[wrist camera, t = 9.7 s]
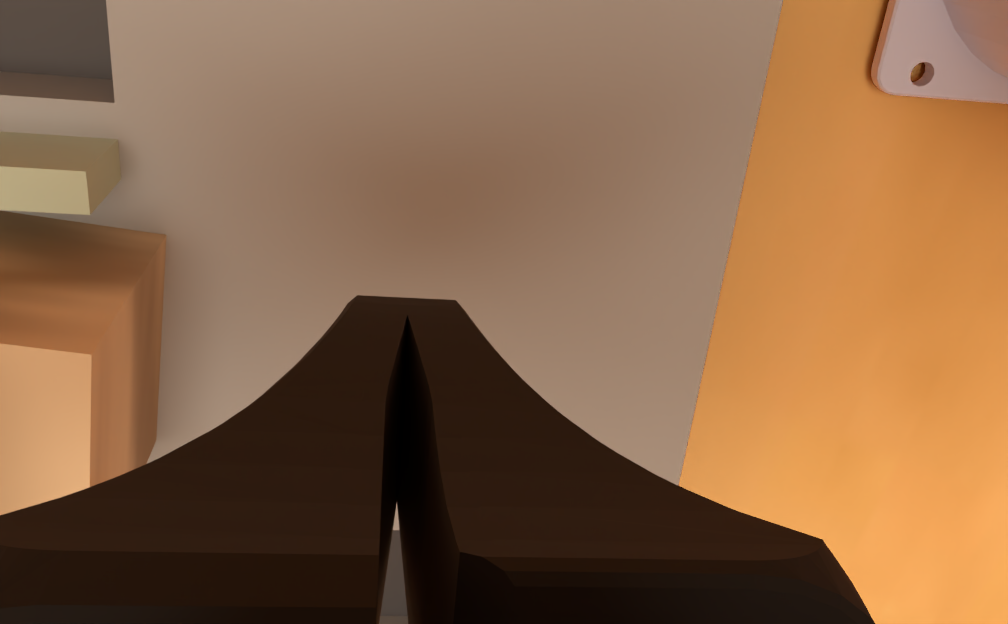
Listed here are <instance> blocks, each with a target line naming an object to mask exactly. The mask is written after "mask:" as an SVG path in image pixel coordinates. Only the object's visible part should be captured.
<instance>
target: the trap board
mask: <svg viewBox="0 0 1008 624" xmlns="http://www.w3.org/2000/svg"><path fill="white" fill-rule="evenodd" d="M782 3H783V0H0V211H7V212H13V213H20V214H27V215H34V216H41V217H48V218H54V219H61V220H68V221H75V222H82V223H89V224H95V225H102V226H109V227H116V228H123V229H130V230H136V231H143V232H150V233H157V234H164V235H166V255H165V276H164V296H163V316H162V336H161V356H160V376H159V396H158V417H157V437H156V442H155V445H154V447H153V449H152V452H151V454H150V456H149V459H148V461H147V463H150V462H152V461H154V460H156V459H158V458H160V457H162V456H164V455H166V454H168V453H170V452H171V451H173V450H175V449H177V448H179V447H181V446H183V445H184V444H186V443H188V442H190V441H192V440H194V439H196V438H197V437H199V436H201V435H203V434H205V433H207V432H209V431H211V430H212V429H214V428H216V427H217V426H219V425H220V424H222V423H224V422H225V421H227V420H228V419H230V418H231V417H233V416H234V415H235V414H237V413H238V412H240V411H241V410H243V409H244V408H246V407H247V406H249V405H250V404H251V403H252V402H254V401H255V400H256V399H258V398H259V397H260V396H261V395H262V394H264V393H265V392H266V391H267V390H268V389H269V388H270V387H271V386H273V385H274V384H275V383H276V382H277V381H278V380H279V379H280V378H281V377H283V376H284V375H285V374H286V373H287V372H288V371H289V370H290V369H291V368H293V367H294V366H295V365H296V364H297V363H298V362H299V361H300V360H301V359H302V357H303V356H304V355H305V354H306V353H307V352H308V351H309V350H310V349H311V348H312V347H313V346H314V345H315V344H316V343H317V341H318V340H319V339H320V338H321V337H322V336H323V335H324V334H325V332H326V331H327V330H328V329H329V328H330V326H331V325H332V324H333V323H334V321H335V320H336V319H337V318H338V316H339V315H340V314H341V312H342V311H343V309H344V308H345V307H346V305H347V303H348V302H350V301H351V300H352V299H353V298H354V297H356V296H357V295H363V296H384V297H405V298H426V299H446V300H456V301H457V302H458V303H459V304H460V305H461V307H462V308H463V309H464V310H465V311H466V313H467V314H468V315H469V317H470V318H471V320H472V321H473V322H474V324H475V325H476V326H477V327H478V329H479V330H480V331H481V333H482V334H483V335H484V336H485V338H486V339H487V340H488V341H489V343H490V344H491V345H492V346H493V347H494V349H495V350H496V351H497V352H498V353H499V354H500V356H501V357H502V358H503V359H504V360H505V361H506V362H507V363H508V364H509V366H510V367H511V368H512V369H513V370H514V371H515V372H516V373H517V374H518V375H519V376H520V377H521V378H522V379H523V380H524V381H525V382H526V383H527V384H528V385H529V386H530V387H531V388H532V389H534V390H535V391H536V392H537V393H538V394H539V395H540V396H541V397H542V398H543V399H544V400H545V401H547V402H548V403H549V404H550V405H551V406H552V407H554V408H555V409H556V410H557V411H559V412H560V413H561V414H562V415H563V416H565V417H566V418H568V419H569V420H570V421H572V422H573V423H574V424H576V425H577V426H578V427H580V428H581V429H583V430H584V431H585V432H587V433H588V434H589V435H591V436H592V437H594V438H595V439H596V440H598V441H599V442H601V443H603V444H604V445H606V446H607V447H609V448H610V449H612V450H614V451H615V452H617V453H618V454H620V455H622V456H624V457H625V458H627V459H629V460H631V461H632V462H634V463H636V464H638V465H640V466H641V467H643V468H645V469H647V470H648V471H650V472H652V473H654V474H656V475H657V476H659V477H662V478H664V479H666V480H668V481H670V482H672V483H674V484H676V485H679V480H680V476H681V471H682V466H683V462H684V457H685V453H686V448H687V443H688V439H689V434H690V429H691V425H692V420H693V415H694V411H695V406H696V402H697V397H698V392H699V388H700V383H701V378H702V374H703V369H704V364H705V360H706V355H707V351H708V346H709V341H710V337H711V332H712V327H713V323H714V318H715V314H716V309H717V304H718V300H719V295H720V290H721V286H722V281H723V276H724V272H725V267H726V263H727V258H728V253H729V249H730V244H731V239H732V235H733V230H734V225H735V221H736V216H737V212H738V207H739V202H740V198H741V193H742V188H743V184H744V179H745V174H746V170H747V165H748V161H749V156H750V151H751V147H752V142H753V137H754V133H755V128H756V124H757V119H758V114H759V110H760V105H761V100H762V96H763V91H764V86H765V82H766V77H767V73H768V68H769V63H770V59H771V54H772V49H773V45H774V40H775V35H776V31H777V26H778V22H779V17H780V12H781V8H782ZM147 463H146V464H147ZM379 624H408V616H407V605H406V595H405V584H404V574H403V563H402V553H401V542H400V531H399V520H398V509H397V505H396V512H395V519H394V525H393V532H392V539H391V546H390V553H389V560H388V567H387V573H386V580H385V587H384V594H383V601H382V607H381V614H380V621H379Z"/></svg>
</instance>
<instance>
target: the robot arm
mask: <svg viewBox="0 0 1008 624" xmlns="http://www.w3.org/2000/svg"><path fill="white" fill-rule="evenodd" d="M921 62H924V64H925V72H924V74H923V76H922V77H921V78H920V79H919V80H917V81H916V82H912V81H911V80H910V78H911V72H912V70H913V68H914V67H915V66H916V65H917V64H919V63H921ZM871 78H872V81H873V84H874V85H875V86H876V87H877V88H878V89H879V90H881V91H883V92H885V93H888V94H892V95H899V96H912V97H925V98H937V99H950V100H963V101H975V102H988V103H1001V104H1008V0H889V3H888V7H887V11H886V14H885V18H884V22H883V26H882V30H881V33H880V37H879V41H878V45H877V49H876V52H875V56H874V60H873V64H872V69H871ZM396 505H397V509H398V520H399V531H400V542H401V553H402V563H403V574H404V584H405V595H406V605H407V616H408V624H875V623H874V621H873V619H872V618H871V616H870V614H869V612H868V610H867V608H866V606H865V604H864V603H863V601H862V599H861V597H860V596H859V594H858V592H857V590H856V589H855V587H854V585H853V583H852V582H851V580H850V579H849V577H848V576H847V574H846V573H845V571H844V570H843V569H842V567H841V566H840V564H839V563H838V561H837V560H836V558H835V557H834V555H833V554H832V553H831V551H830V550H829V548H828V547H827V546H826V544H825V543H824V541H823V540H822V539H819V538H816V537H813V536H810V535H807V534H804V533H801V532H798V531H795V530H792V529H789V528H786V527H783V526H780V525H777V524H774V523H771V522H768V521H765V520H762V519H759V518H756V517H753V516H750V515H747V514H744V513H741V512H738V511H736V510H733V509H730V508H728V507H726V506H723V505H721V504H719V503H716V502H714V501H712V500H709V499H707V498H705V497H702V496H700V495H698V494H695V493H693V492H691V491H688V490H686V489H684V488H682V487H680V486H678V485H676V484H674V483H672V482H670V481H668V480H666V479H664V478H662V477H659V476H657V475H656V474H654V473H652V472H650V471H648V470H647V469H645V468H643V467H641V466H640V465H638V464H636V463H634V462H632V461H631V460H629V459H627V458H625V457H624V456H622V455H620V454H618V453H617V452H615V451H614V450H612V449H610V448H609V447H607V446H606V445H604V444H603V443H601V442H599V441H598V440H596V439H595V438H594V437H592V436H591V435H589V434H588V433H587V432H585V431H584V430H583V429H581V428H580V427H578V426H577V425H576V424H574V423H573V422H572V421H570V420H569V419H568V418H566V417H565V416H563V415H562V414H561V413H560V412H559V411H557V410H556V409H555V408H554V407H552V406H551V405H550V404H549V403H548V402H547V401H545V400H544V399H543V398H542V397H541V396H540V395H539V394H538V393H537V392H536V391H535V390H534V389H532V388H531V387H530V386H529V385H528V384H527V383H526V382H525V381H524V380H523V379H522V378H521V377H520V376H519V375H518V374H517V373H516V372H515V371H514V370H513V369H512V368H511V367H510V366H509V364H508V363H507V362H506V361H505V360H504V359H503V358H502V357H501V356H500V354H499V353H498V352H497V351H496V350H495V349H494V347H493V346H492V345H491V344H490V343H489V341H488V340H487V339H486V338H485V336H484V335H483V334H482V333H481V331H480V330H479V329H478V327H477V326H476V325H475V324H474V322H473V321H472V320H471V318H470V317H469V315H468V314H467V313H466V311H465V310H464V309H463V308H462V307H461V305H460V304H459V303H458V302H457V301H456V300H446V299H426V298H405V297H384V296H363V295H357V296H356V297H354V298H353V299H352V300H351V301H350V302H348V303H347V305H346V307H345V308H344V309H343V311H342V312H341V314H340V315H339V316H338V318H337V319H336V320H335V321H334V323H333V324H332V325H331V326H330V328H329V329H328V330H327V331H326V332H325V334H324V335H323V336H322V337H321V338H320V339H319V340H318V341H317V343H316V344H315V345H314V346H313V347H312V348H311V349H310V350H309V351H308V352H307V353H306V354H305V355H304V356H303V357H302V359H301V360H300V361H299V362H298V363H297V364H296V365H295V366H294V367H293V368H291V369H290V370H289V371H288V372H287V373H286V374H285V375H284V376H283V377H281V378H280V379H279V380H278V381H277V382H276V383H275V384H274V385H273V386H271V387H270V388H269V389H268V390H267V391H266V392H265V393H264V394H262V395H261V396H260V397H259V398H258V399H256V400H255V401H254V402H252V403H251V404H250V405H249V406H247V407H246V408H244V409H243V410H241V411H240V412H238V413H237V414H235V415H234V416H233V417H231V418H230V419H228V420H227V421H225V422H224V423H222V424H220V425H219V426H217V427H216V428H214V429H212V430H211V431H209V432H207V433H205V434H203V435H201V436H199V437H197V438H196V439H194V440H192V441H190V442H188V443H186V444H184V445H183V446H181V447H179V448H177V449H175V450H173V451H171V452H170V453H168V454H166V455H164V456H162V457H160V458H158V459H156V460H154V461H152V462H150V463H147V464H145V465H143V466H141V467H138V468H136V469H134V470H131V471H129V472H127V473H125V474H122V475H120V476H117V477H115V478H112V479H110V480H107V481H104V482H102V483H99V484H97V485H94V486H91V487H89V488H86V489H84V490H81V491H78V492H75V493H72V494H69V495H66V496H63V497H61V498H57V499H54V500H50V501H47V502H44V503H40V504H37V505H33V506H30V507H27V508H23V509H20V510H16V511H13V512H10V513H6V514H3V515H0V624H379V621H380V614H381V607H382V601H383V594H384V587H385V580H386V573H387V567H388V560H389V553H390V546H391V539H392V532H393V525H394V519H395V512H396Z"/></svg>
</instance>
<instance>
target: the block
mask: <svg viewBox="0 0 1008 624" xmlns="http://www.w3.org/2000/svg"><path fill="white" fill-rule="evenodd" d="M165 255H166V235H164V234H157V233H150V232H143V231H136V230H130V229H123V228H116V227H109V226H102V225H95V224H89V223H82V222H75V221H68V220H61V219H54V218H48V217H41V216H34V215H27V214H20V213H13V212H7V211H0V515H3V514H6V513H10V512H13V511H16V510H20V509H23V508H27V507H30V506H33V505H37V504H40V503H44V502H47V501H50V500H54V499H57V498H61V497H63V496H66V495H69V494H72V493H75V492H78V491H81V490H84V489H86V488H89V487H91V486H94V485H97V484H99V483H102V482H104V481H107V480H110V479H112V478H115V477H117V476H120V475H122V474H125V473H127V472H129V471H131V470H134V469H136V468H138V467H141V466H143V465H145V464H146V463H147V461H148V459H149V456H150V454H151V452H152V449H153V447H154V445H155V442H156V437H157V417H158V396H159V376H160V356H161V336H162V316H163V296H164V276H165Z"/></svg>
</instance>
